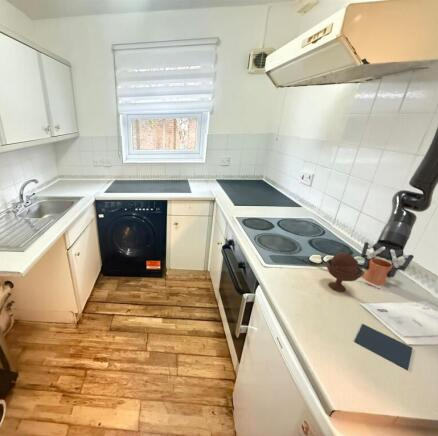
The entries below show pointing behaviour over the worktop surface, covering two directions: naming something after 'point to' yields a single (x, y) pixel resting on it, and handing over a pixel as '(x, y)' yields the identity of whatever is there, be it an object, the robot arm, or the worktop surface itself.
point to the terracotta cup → (377, 271)
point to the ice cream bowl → (343, 270)
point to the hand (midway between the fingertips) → (377, 272)
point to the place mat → (384, 346)
